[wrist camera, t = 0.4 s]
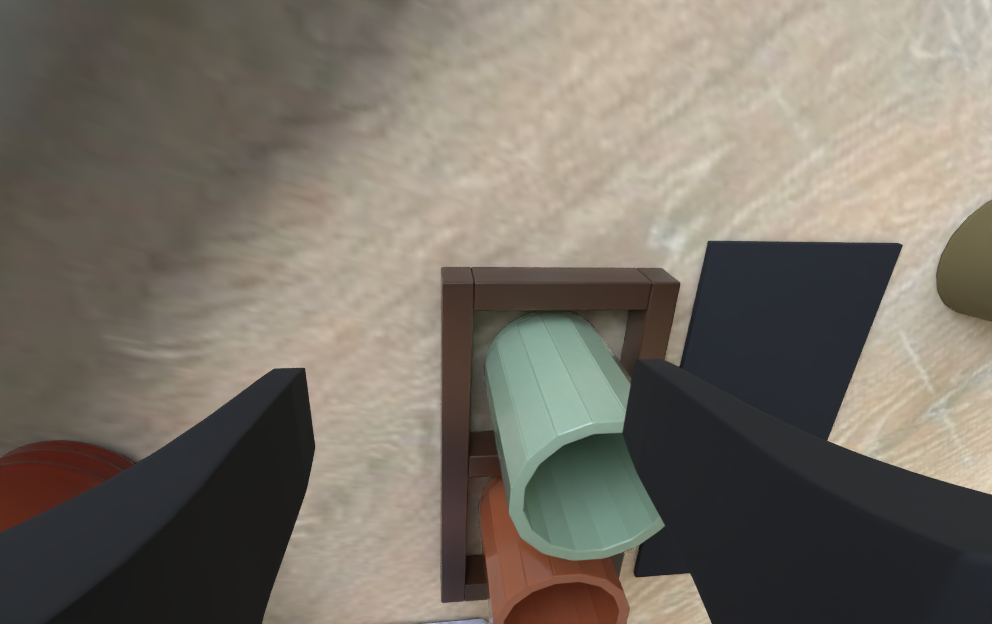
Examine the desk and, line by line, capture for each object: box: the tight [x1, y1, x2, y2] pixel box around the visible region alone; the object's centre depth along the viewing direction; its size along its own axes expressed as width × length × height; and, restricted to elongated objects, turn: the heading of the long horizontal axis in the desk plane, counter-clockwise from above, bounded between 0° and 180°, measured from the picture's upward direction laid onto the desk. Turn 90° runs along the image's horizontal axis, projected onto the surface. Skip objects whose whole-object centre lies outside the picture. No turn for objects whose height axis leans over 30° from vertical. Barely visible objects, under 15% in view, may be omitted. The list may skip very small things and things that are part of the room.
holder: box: [441, 267, 680, 603], centre depth 24 cm, size 18×9×2 cm, turn 177°
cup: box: [484, 310, 665, 561], centre depth 19 cm, size 6×6×8 cm
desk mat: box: [634, 241, 903, 577], centre depth 26 cm, size 20×9×1 cm, turn 177°
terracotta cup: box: [478, 476, 630, 624], centre depth 23 cm, size 6×6×6 cm
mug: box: [0, 440, 135, 532], centre depth 18 cm, size 12×9×10 cm
